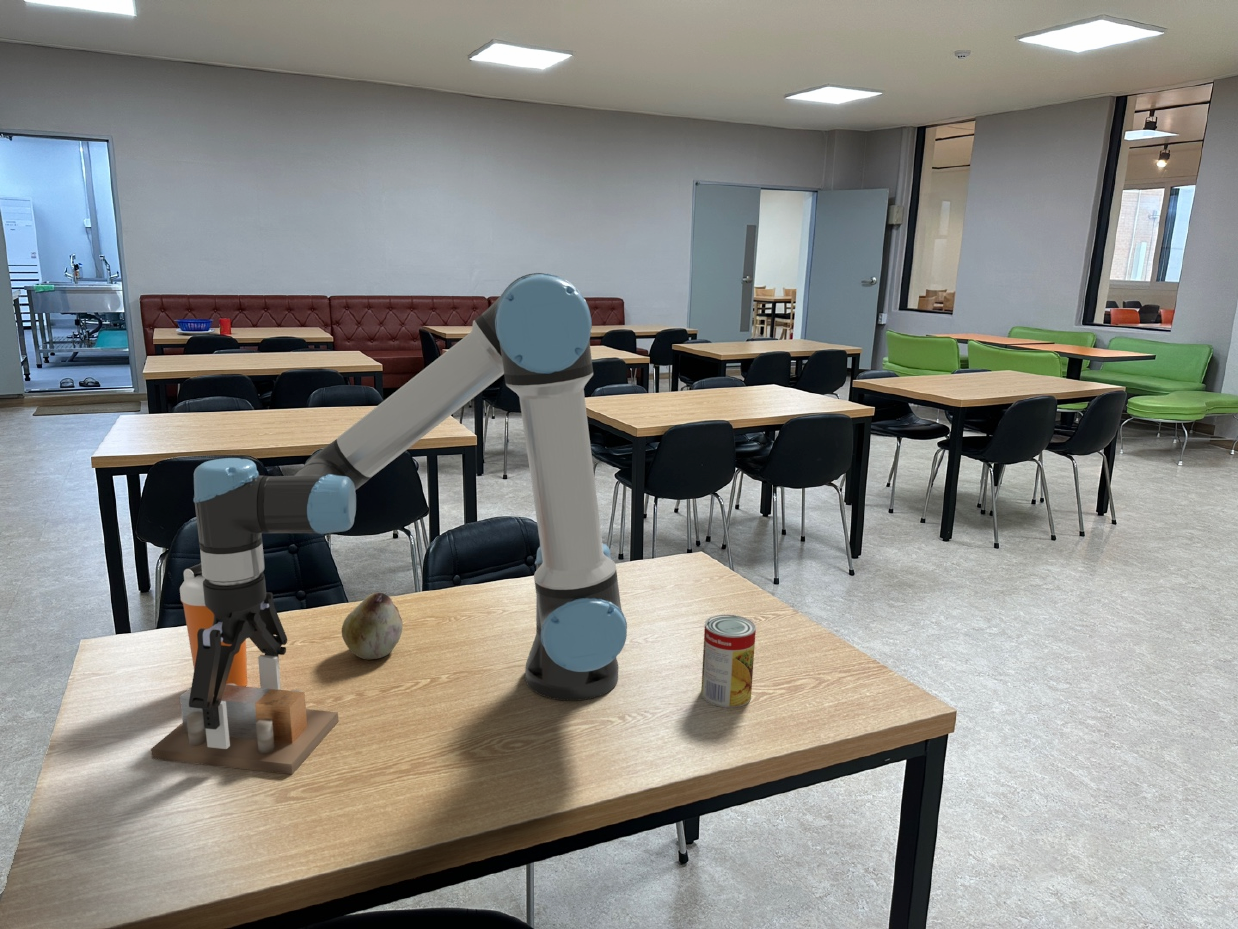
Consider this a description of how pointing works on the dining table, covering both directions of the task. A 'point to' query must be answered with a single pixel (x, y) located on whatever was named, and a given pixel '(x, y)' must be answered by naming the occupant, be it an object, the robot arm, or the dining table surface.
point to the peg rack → (245, 745)
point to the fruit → (373, 627)
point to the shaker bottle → (206, 622)
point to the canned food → (728, 660)
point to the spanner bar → (258, 711)
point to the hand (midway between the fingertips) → (246, 721)
